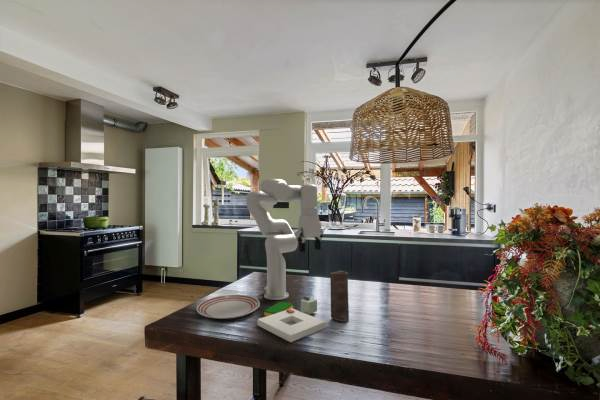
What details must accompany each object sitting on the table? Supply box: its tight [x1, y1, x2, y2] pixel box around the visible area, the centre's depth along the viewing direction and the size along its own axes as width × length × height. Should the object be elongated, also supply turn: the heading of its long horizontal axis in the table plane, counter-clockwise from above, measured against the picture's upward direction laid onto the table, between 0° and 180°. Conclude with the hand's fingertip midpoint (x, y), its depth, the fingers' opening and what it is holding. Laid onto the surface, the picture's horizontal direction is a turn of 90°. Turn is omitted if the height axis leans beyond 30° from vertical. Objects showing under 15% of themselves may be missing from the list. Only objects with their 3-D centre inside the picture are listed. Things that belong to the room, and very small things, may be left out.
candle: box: [329, 270, 350, 323], centre depth 127 cm, size 8×7×20 cm
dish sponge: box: [263, 301, 294, 317], centre depth 137 cm, size 7×14×2 cm, turn 153°
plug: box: [300, 295, 318, 315], centre depth 135 cm, size 6×5×7 cm
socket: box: [257, 308, 327, 343], centre depth 120 cm, size 20×18×3 cm
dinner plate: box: [196, 294, 261, 320], centre depth 137 cm, size 27×27×3 cm
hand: (310, 250), depth 137 cm, fingers open, 9 cm apart
